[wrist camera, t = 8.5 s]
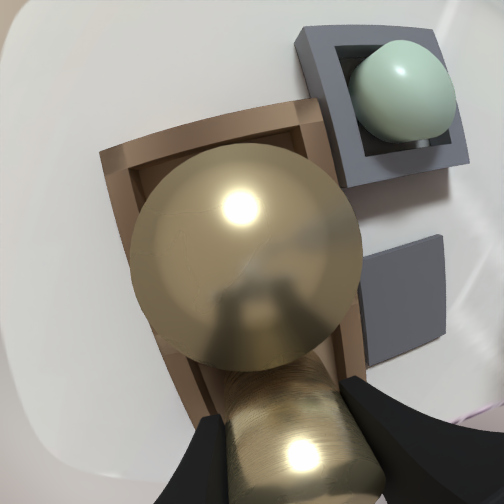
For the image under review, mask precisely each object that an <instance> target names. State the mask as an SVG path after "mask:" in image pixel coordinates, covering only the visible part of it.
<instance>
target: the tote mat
mask: <svg viewBox="0 0 504 504" xmlns="http://www.w3.org/2000/svg"><path fill="white" fill-rule="evenodd" d="M358 294H359V301H360V309H361V318H362V326H363V336H364V346H365V357H366V363H367V364H368V365H369V366H372V365H374V364H377V363H380V362H382V361H385V360H387V359H390V358H392V357H394V356H397V355H399V354H402V353H404V352H406V351H409V350H411V349H413V348H416V347H418V346H420V345H422V344H425V343H427V342H429V341H431V340H433V339H436V338H438V337H440V336H442V335H444V334H446V278H445V258H444V244H443V236H442V235H438V234H437V235H434V236H431V237H427V238H424V239H421V240H418V241H415V242H411V243H408V244H405V245H402V246H399V247H395V248H392V249H389V250H385V251H382V252H379V253H375V254H372V255H369V256H365V257H363V261H362V271H361V277H360V282H359V285H358Z"/></svg>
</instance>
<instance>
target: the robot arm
mask: <svg viewBox="0 0 504 504" xmlns="http://www.w3.org/2000/svg"><path fill="white" fill-rule="evenodd" d="M338 382H339V390H340V395H341V396H342V398H343V400H344V402H345V403H346V405H347V407H348V409H349V411H350V412H351V414H352V416H353V418H354V420H355V421H356V423H357V425H358V427H359V429H360V430H361V432H362V434H363V436H364V438H365V439H366V441H367V443H368V445H369V447H370V448H371V450H372V452H373V454H374V456H375V457H376V459H377V461H378V463H379V465H380V466H381V468H382V470H383V472H384V474H385V477H386V484H385V488H384V490H383V493H382V494H383V495H384V497H385V499H386V501H387V504H504V433H501V432H490V431H483V430H477V429H472V428H467V427H463V426H458V425H455V424H451V423H448V422H445V421H442V420H439V419H436V418H433V417H430V416H428V415H426V414H423V413H421V412H419V411H417V410H414V409H412V408H410V407H408V406H406V405H404V404H402V403H401V402H399V401H397V400H395V399H393V398H391V397H390V396H388V395H386V394H385V393H383V392H381V391H380V390H378V389H376V388H375V387H373V386H372V385H370V384H369V383H367V382H366V381H364V380H363V379H361V378H360V377H358V376H356V375H355V376H352V377H349V378H346V379H343V380H340V381H338ZM154 504H229V496H228V478H227V458H226V435H225V425H224V422H223V420H222V417H221V415H220V414H215V415H210V416H205V417H202V418H201V419H200V421H199V424H198V426H197V428H196V431H195V433H194V435H193V438H192V440H191V442H190V444H189V446H188V448H187V450H186V452H185V454H184V456H183V458H182V460H181V462H180V464H179V466H178V468H177V469H176V471H175V473H174V474H173V476H172V478H171V479H170V481H169V483H168V484H167V486H166V487H165V489H164V490H163V492H162V493H161V495H160V496H159V497H158V499H157V500H156V501H155V502H154Z"/></svg>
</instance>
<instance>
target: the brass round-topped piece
mask: <svg viewBox="0 0 504 504" xmlns="http://www.w3.org/2000/svg"><path fill="white" fill-rule="evenodd" d="M362 261H363V248H362V239H361V233H360V229H359V225H358V221H357V219H356V216H355V213H354V211H353V208H352V206H351V205H350V203H349V201H348V199H347V197H346V196H345V194H344V193H343V191H342V190H341V189H340V187H339V186H338V185H337V183H336V182H335V181H334V180H333V179H332V178H331V177H330V176H329V175H328V174H327V173H326V172H325V171H324V170H322V169H321V168H320V167H318V166H317V165H316V164H315V163H313V162H311V161H310V160H308V159H306V158H305V157H303V156H301V155H299V154H297V153H294V152H292V151H289V150H287V149H284V148H280V147H276V146H272V145H266V144H257V143H240V144H231V145H225V146H220V147H217V148H214V149H210V150H207V151H204V152H202V153H200V154H198V155H196V156H194V157H192V158H190V159H188V160H186V161H185V162H183V163H182V164H180V165H179V166H177V167H176V168H175V169H173V170H172V171H171V172H170V173H169V174H168V175H167V176H166V177H165V178H163V179H162V180H161V182H160V183H159V184H158V185H157V186H156V188H155V189H154V190H153V191H152V192H151V194H150V196H149V197H148V199H147V200H146V202H145V204H144V205H143V207H142V209H141V212H140V214H139V216H138V218H137V221H136V224H135V227H134V231H133V234H132V240H131V247H130V272H131V280H132V284H133V288H134V292H135V295H136V298H137V300H138V303H139V305H140V307H141V310H142V311H143V313H144V315H145V316H146V318H147V320H148V321H149V323H150V324H151V326H152V327H153V328H154V329H155V331H156V332H157V333H158V334H159V335H160V336H161V337H162V338H163V339H164V340H165V341H166V342H167V343H168V344H169V345H170V346H172V347H173V348H174V349H176V350H177V351H178V352H180V353H181V354H183V355H185V356H187V357H188V358H190V359H192V360H194V361H196V362H199V363H201V364H204V365H206V366H210V367H214V368H217V369H222V370H229V371H245V372H249V371H260V370H266V369H270V368H275V367H278V366H281V365H284V364H287V363H290V362H292V361H294V360H296V359H298V358H300V357H302V356H304V355H305V354H307V353H309V352H310V351H312V350H313V349H315V348H316V347H317V346H318V345H320V344H321V343H322V342H323V341H324V340H326V339H327V338H328V336H329V335H330V334H331V333H332V332H333V331H334V330H335V329H336V328H337V326H338V325H339V324H340V322H341V321H342V320H343V318H344V317H345V315H346V313H347V312H348V310H349V308H350V306H351V304H352V302H353V300H354V297H355V295H356V292H357V289H358V285H359V282H360V277H361V271H362Z"/></svg>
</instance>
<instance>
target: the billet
mask: <svg viewBox="0 0 504 504" xmlns="http://www.w3.org/2000/svg"><path fill="white" fill-rule="evenodd" d="M224 408H225V435H226V458H227V478H228V496H229V504H375V502H376V501H377V500H378V499H379V497H380V496H381V494H382V493H383V490H384V488H385V484H386V477H385V474H384V472H383V470H382V468H381V466H380V465H379V463H378V461H377V459H376V457H375V456H374V454H373V452H372V450H371V448H370V447H369V445H368V443H367V441H366V439H365V438H364V436H363V434H362V432H361V430H360V429H359V427H358V425H357V423H356V421H355V420H354V418H353V416H352V414H351V412H350V411H349V409H348V407H347V405H346V403H345V402H344V400H343V398H342V396H341V395H340V393H339V391H338V389H337V387H336V386H335V384H334V382H333V380H332V378H331V377H330V375H329V373H328V371H327V370H326V368H325V366H324V364H323V362H322V361H321V359H320V357H319V356H318V355H317V354H316V353H315V352H314V351H313V350H312V351H310V352H309V353H307V354H305V355H304V356H302V357H300V358H298V359H296V360H294V361H292V362H290V363H287V364H284V365H281V366H278V367H275V368H270V369H266V370H260V371H249V372H245V371H229V370H227V372H226V375H225V379H224Z"/></svg>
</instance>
